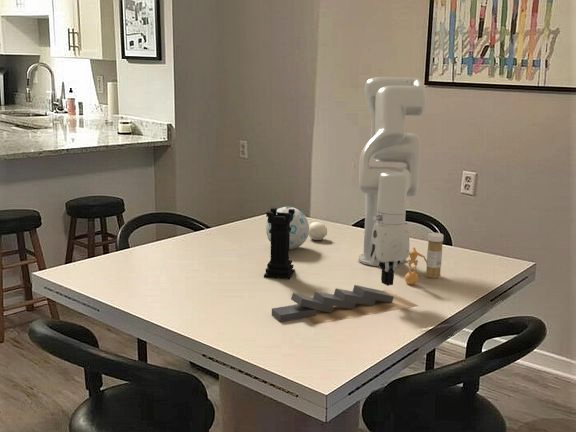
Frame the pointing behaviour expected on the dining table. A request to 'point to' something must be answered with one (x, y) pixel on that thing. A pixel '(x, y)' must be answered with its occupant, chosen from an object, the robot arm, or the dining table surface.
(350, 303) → the domino
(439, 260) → the sprinkles bottle
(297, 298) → the domino
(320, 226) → the cream round ball
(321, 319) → the cork mat
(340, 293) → the domino
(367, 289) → the domino
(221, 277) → the dining table surface
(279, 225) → the chess piece
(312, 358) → the dining table surface
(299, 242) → the puzzle ball
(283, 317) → the domino
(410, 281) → the figurine
